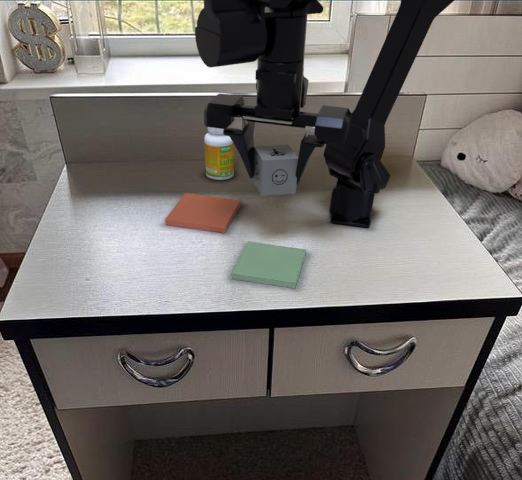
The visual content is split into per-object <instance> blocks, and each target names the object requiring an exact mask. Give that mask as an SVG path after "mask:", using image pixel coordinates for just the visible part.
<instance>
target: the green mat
mask: <svg viewBox="0 0 522 480" xmlns="http://www.w3.org/2000/svg"><path fill="white" fill-rule="evenodd" d="M306 256H307V249H305V248H299V247H291V246H283V245H277V244H270V243H263V242H256V241H249V240H247V242H246V244H245V246H244V249H243V250H242V253H240V256H239V258H238V260H237V262H236V264H235V267H234V268H233V270H232V273H231V280H232V279H233V280H237V281H238V280H239V281H243V282H244V281H245V282H250V283H257V284H264V285H271V286H275V287H276V286H277V287H282V288H283V287H284V288H290V289H296V287H297V284H298V282H299V281H298V280H299V278H300V274H301V271H302V268H303V265H304V262H305V259H306Z"/></svg>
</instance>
